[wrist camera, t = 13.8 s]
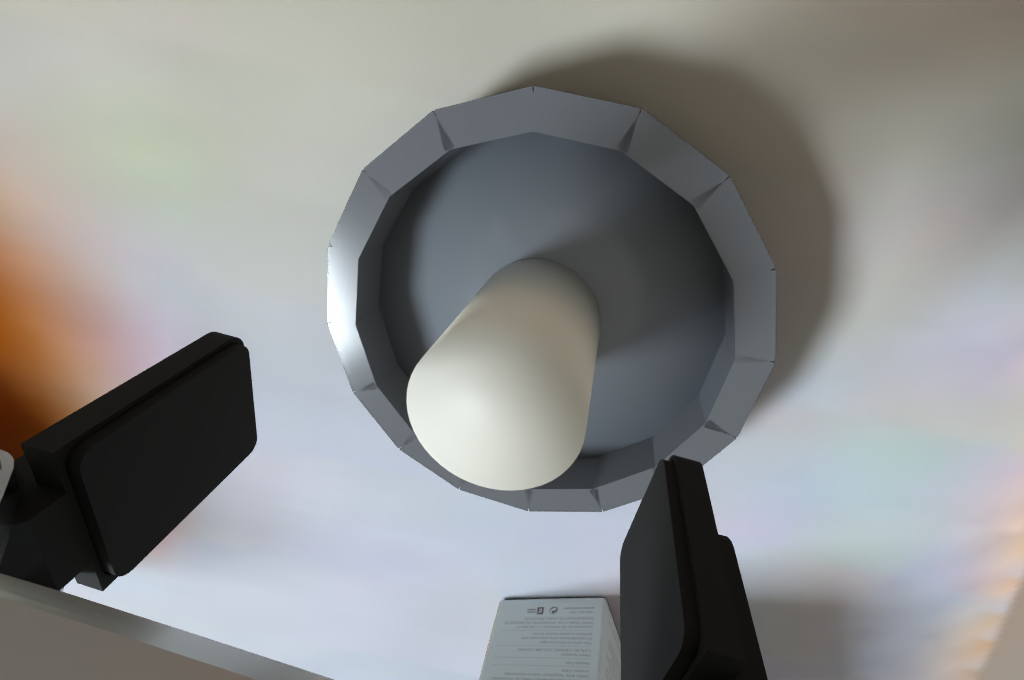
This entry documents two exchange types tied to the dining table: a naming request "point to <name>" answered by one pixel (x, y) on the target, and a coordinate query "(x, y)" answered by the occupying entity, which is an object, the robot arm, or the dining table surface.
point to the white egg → (511, 379)
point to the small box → (553, 641)
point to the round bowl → (577, 245)
